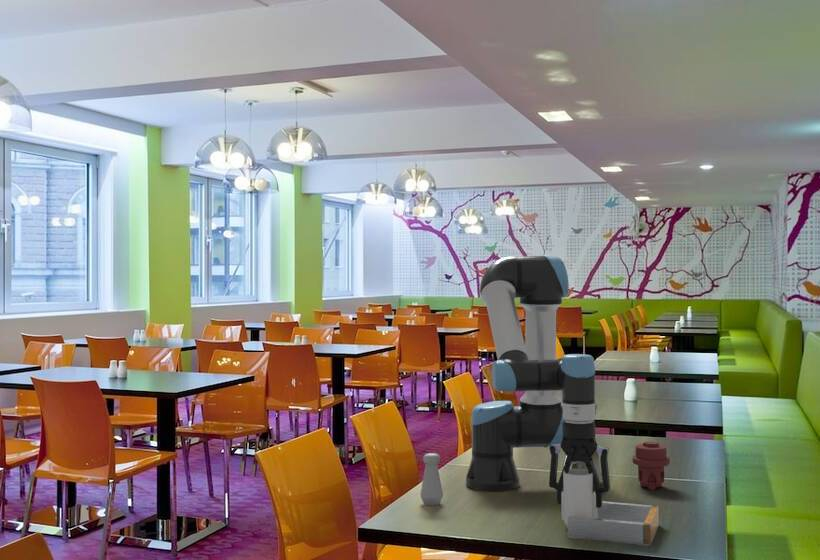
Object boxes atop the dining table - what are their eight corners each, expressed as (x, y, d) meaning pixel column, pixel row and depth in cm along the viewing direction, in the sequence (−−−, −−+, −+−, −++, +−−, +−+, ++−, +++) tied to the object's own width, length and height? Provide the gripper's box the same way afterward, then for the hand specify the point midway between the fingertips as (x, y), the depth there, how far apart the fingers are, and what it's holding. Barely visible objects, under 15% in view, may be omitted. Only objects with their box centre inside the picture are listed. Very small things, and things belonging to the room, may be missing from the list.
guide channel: (567, 537, 194) (567, 517, 194) (582, 518, 209) (581, 499, 209) (650, 546, 187) (650, 525, 187) (658, 525, 203) (658, 506, 203)
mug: (593, 528, 196) (592, 475, 196) (563, 527, 197) (562, 474, 197) (593, 516, 206) (592, 466, 206) (564, 515, 207) (564, 465, 207)
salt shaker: (427, 507, 220) (426, 457, 220) (416, 502, 225) (416, 453, 225) (447, 505, 223) (446, 454, 223) (436, 500, 228) (435, 450, 228)
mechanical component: (668, 483, 244) (671, 491, 234) (631, 482, 246) (633, 490, 236) (667, 439, 244) (671, 446, 234) (631, 438, 246) (633, 445, 236)
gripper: (533, 421, 201) (534, 519, 201) (618, 425, 194) (619, 528, 194) (541, 416, 208) (542, 511, 208) (623, 420, 201) (624, 519, 201)
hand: (579, 519), depth 201 cm, fingers closed on mug, 6 cm apart
